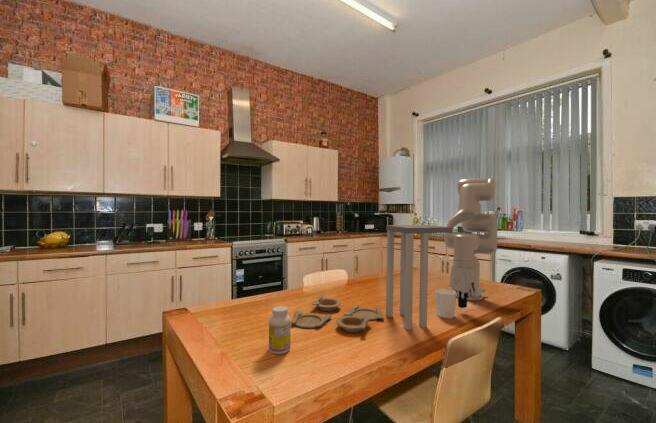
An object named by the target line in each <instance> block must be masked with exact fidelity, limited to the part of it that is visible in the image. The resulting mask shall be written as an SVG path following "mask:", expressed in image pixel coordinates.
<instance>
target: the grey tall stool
mask: <svg viewBox="0 0 656 423" xmlns="http://www.w3.org/2000/svg"><path fill="white" fill-rule="evenodd" d="M385 227H386V232H387V233H386V234H387V236H386V281H385V282H386V283H385V286H386V290H385V295H386V296H385V303H386V304H385V316H386V317H388V318H392V317H393V316H394V275H395V274H394V270H395V269H394V268H395V266H394V262H395V260H394V258H395V256H394V255H395V232H396V233H400V270H399V275H400V276H399V278H400V280H399V314H400V315H401V316H404V317H403V318H404V321H403V322H404V324H403V326H404V327H403V328H404V329H405V330H407V331H410V330H412V329H413V299H414V298H413V296H414V295H413V293H414V292H413V290H414V289H413V288H414V287H413V286H414V242H415V241H414V237H415V235H414V234H420V248H419V250H420V251H419V301H418V302H419V303H418V304H419V306H418V307H419V308H418V326H419V327H420V328H422V329H423V328H427V327H428V293H429V292H428V287H429V286H428V285H429V280H428V279H429V274H428V273H429V235H430V234H445V233H452V229H453V227H446V226H441V225H431V224H402V225H401V224H399V225H398V224H397V225H396V224H395V225H394V224H389V225H388V224H386V226H385ZM453 230H454V229H453Z"/></svg>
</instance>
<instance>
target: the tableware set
mask: <svg viewBox="0 0 656 423" xmlns="http://www.w3.org/2000/svg"><path fill="white" fill-rule="evenodd" d="M311 305H314V306H317V307H318V308H319V309H320V310H321V311H323V312H332V311H335V310H336V308H337V307H338V308H339V306H341V305H342V302H341V301H340V300H339V299H336V298H331V297H324V295H322V294H320V295H319V296H318V297H317V299H316V300H313V301H311ZM293 315H294V316H293V317H292V318H291V325H294V326H295V327H298V328H301V329H316V328H320V327H323V326H325V324H326V323H327V321H328V320H330V319H331V318H332V316H333V314H329V313H328V314H326V315H322V314H320V313H319V314H318V313H315V312H314V313H313V312H311V313H310V312H308V313H303V311H302V310H295V311H294V313H293ZM379 319H380V320H381V319H382V320H384V319H385V316H384V315H383V312H382V311H381V308H380V307H377V306H376V307H375V308H374V307H361V306H360V305H357V304H356V305H355V306H353V307H352V308H350V309H348V310H347V311H346V312H344V313H343V316H339V317H338V318H337V319H336V320H335V321H336V322H335V323H336V325H337V326H338V327H340V328H342V330H343V331H345V332H347V333H358V332H360V331H362V330H365V329H366V327H368V325H369V321H377V320H379Z"/></svg>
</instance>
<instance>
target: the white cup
mask: <svg viewBox="0 0 656 423" xmlns="http://www.w3.org/2000/svg"><path fill="white" fill-rule="evenodd" d="M456 301H457V297H456V292H455V291H454V290H453V289H448V288H437V289H435V305H436V306H435V308H436V316H437V317H439V318H443V319H453V318H454V317H455V311H456V303H457V302H456Z"/></svg>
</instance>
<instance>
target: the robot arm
mask: <svg viewBox="0 0 656 423" xmlns="http://www.w3.org/2000/svg"><path fill="white" fill-rule="evenodd" d="M456 186H457V188H456V189H457V194H458V197H459V198H458V207H457V208H458V209H457V212H456V213H455V214H454V215H453V216H452V217H451V218H450V219H449V220H448V221H447V224H446V226H445V227H453V229H452V233H444V236H445V237H444V244H445V246H446V247H447V248H448V249H451V250H452V249H453V260H452V262H453V264H452V266H451V271H450V278H449V287H450V288H451V290H453V291H455V292H456V298H457V306H458V307H459V308H460V309H464V308H467V307H468V301H471V302H473V301H474V302H475V301H481V300H482V301H483V295H482V293H483V294H484V293H487V288H481V287H480V279H481V278H480V276H481V275H480V273H481V270H480V268H481V263H480V260H479V259H478V257H477V256H476V255H475V254H477V255H478V254H479V255H495V254H496V252H497V248H498V218H497V216H496V215H494V214H493V213H482V212H481V210H482V209H481V208H482V206H481V203H480V201H482V202H488V201H492V200H493V199H494V197H495V194H496V188H497V186H496V181H495V179H494V178H492V177H474V178H463V179H460V180H459V181H458V182H457V185H456ZM459 224H461V228H462V230H463V231H465V232H462V231H461V232H459V231H454V228H455V227H456V226H458V225H459ZM479 233H481V234H479ZM482 233H484V234H482ZM458 307H457V308H458Z"/></svg>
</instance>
